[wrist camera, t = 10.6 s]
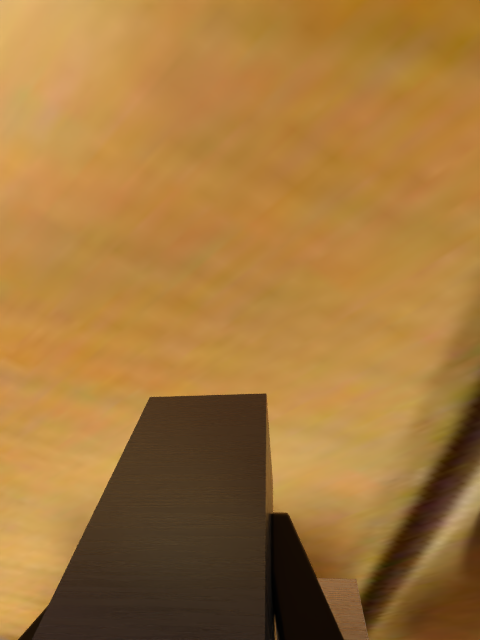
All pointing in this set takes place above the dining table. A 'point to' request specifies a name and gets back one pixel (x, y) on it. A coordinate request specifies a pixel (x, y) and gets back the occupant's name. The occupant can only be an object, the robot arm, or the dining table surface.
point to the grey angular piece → (185, 535)
